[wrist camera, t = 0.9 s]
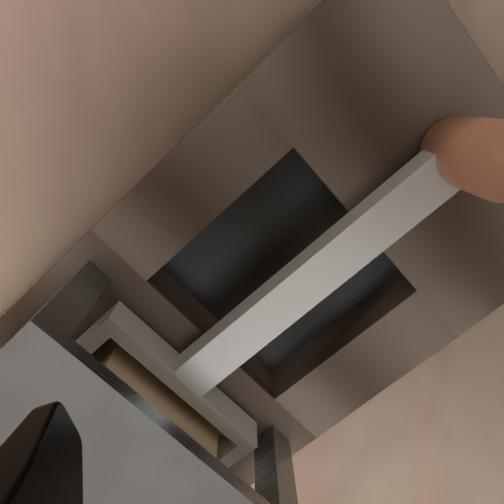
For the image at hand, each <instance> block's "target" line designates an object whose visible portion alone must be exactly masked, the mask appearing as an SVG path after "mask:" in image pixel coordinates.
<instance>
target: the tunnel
mask: <svg viewBox="0 0 504 504" xmlns="http://www.w3.org/2000/svg"><path fill="white" fill-rule="evenodd" d="M110 282H111V279H110V278H109V277H108V276H107V275H106V274H105V273H104V272H102V271H101V270H100V269H99V268H98V267H97V266H96V265H95V264H94V263H92V262H91V261H90V260H89V261H88V262H87V263H86V264H84V265H83V266H82V267H81V268H80V269H79V270H78V271H77V272H76V273H75V274H74V275H73V276H72V277H71V278H70V279H69V280H68V281H67V282H66V283H65V284H64V285H63V286H62V287H61V288H60V289H59V290H58V291H57V292H56V293H55V294H54V295H53V296H52V297H51V298H50V300H49V301H48V302H47V303H46V304H45V305H44V306H43V307H42V308H41V309H40V310H39V311H38V312H37V313H36V314H35V315H34V316H33V317H32V318H31V319H30V320H29V321H28V322H27V323H26V324H25V325H24V326H23V327H22V328H21V329H20V330H19V331H18V332H17V333H16V334H15V335H14V336H13V337H12V338H11V339H10V340H9V341H8V342H7V343H6V344H5V345H4V346H3V347H2V348H1V349H0V446H1V445H2V444H3V443H4V442H5V440H6V439H7V438H8V437H9V436H10V435H11V434H12V432H13V431H14V430H15V429H16V428H17V427H18V425H19V424H20V423H21V422H22V421H23V420H24V419H25V417H26V416H27V415H28V414H29V413H30V412H31V411H32V410H33V409H34V408H36V407H38V406H42V405H45V404H48V403H51V402H54V401H58V402H61V403H62V404H63V405H64V407H65V408H66V410H67V412H68V414H69V416H70V418H71V419H72V421H73V423H74V425H75V427H76V428H77V430H78V432H79V434H80V437H81V441H82V457H83V504H298V501H297V493H296V486H295V478H294V471H293V463H292V455H291V448H290V440H289V439H288V438H287V437H286V436H285V435H284V434H282V433H281V432H280V431H279V430H278V429H277V428H276V427H275V426H274V425H272V426H270V427H269V428H268V429H266V430H265V431H264V432H262V433H261V434H260V435H258V436H257V444H258V447H257V448H255V449H254V465H255V490H254V489H253V488H251V487H250V486H249V485H248V484H247V483H245V482H244V481H243V480H242V479H241V478H239V477H238V476H237V475H236V474H235V473H233V472H232V471H231V470H230V469H229V468H227V467H226V466H225V465H224V464H223V463H221V462H220V461H219V460H218V459H217V458H215V457H214V456H213V455H212V454H211V453H209V452H208V451H207V450H206V449H205V448H203V447H202V446H201V445H200V444H198V443H197V442H196V441H195V440H194V439H192V438H191V437H190V436H189V435H188V434H186V433H185V432H184V431H183V430H182V429H180V428H179V427H178V426H177V425H176V424H174V423H173V422H172V421H171V420H170V419H168V418H167V417H166V416H165V415H164V414H162V413H161V412H160V411H159V410H158V409H156V408H155V407H154V406H153V405H152V404H150V403H149V402H148V401H147V400H146V399H144V398H143V397H142V396H141V395H139V394H138V393H137V392H136V391H135V390H133V389H132V388H131V387H130V386H129V385H127V384H126V383H125V382H124V381H123V380H121V379H120V378H119V377H118V376H117V375H115V374H114V373H113V372H112V371H111V370H109V369H108V368H107V367H106V366H105V365H103V364H102V363H101V362H100V361H99V360H97V359H96V358H95V357H94V356H93V355H91V354H90V353H89V352H88V351H87V350H85V349H84V348H83V347H82V346H80V345H79V344H78V343H77V342H76V341H74V340H73V339H72V338H71V337H70V336H71V335H72V333H73V332H74V331H75V329H76V328H77V327H78V325H79V324H80V322H81V321H82V320H83V318H84V317H85V316H86V314H87V313H88V312H89V310H90V309H91V308H92V306H93V305H94V303H95V302H96V301H97V299H98V298H99V297H100V295H101V294H102V293H103V291H104V290H105V288H106V287H107V286H108V284H109V283H110Z"/></svg>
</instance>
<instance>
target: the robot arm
mask: <svg viewBox="0 0 504 504" xmlns="http://www.w3.org/2000/svg"><path fill="white" fill-rule="evenodd" d="M0 504H83V457H82V441H81V437H80V434H79V432H78V430H77V428H76V427H75V425H74V423H73V421H72V419H71V418H70V416H69V414H68V412H67V410H66V408H65V407H64V405H63V404H62V403H61V402H58V401H54V402H51V403H48V404H45V405H42V406H38V407H36V408H34V409H33V410H32V411H31V412H30V413H29V414H28V415H27V416H26V417H25V419H24V420H23V421H22V422H21V423H20V424H19V425H18V427H17V428H16V429H15V430H14V431H13V432H12V434H11V435H10V436H9V437H8V438H7V439H6V440H5V442H4V443H3V444H2V445H1V446H0Z"/></svg>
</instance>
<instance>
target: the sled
mask: <svg viewBox="0 0 504 504" xmlns="http://www.w3.org/2000/svg"><path fill="white" fill-rule="evenodd" d="M459 190H463V191H466V192H468V193H471V194H473V195H475V196H478V197H480V198H483V199H485V200H487V201H490V202H494V203H504V119H500V118H486V117H473V116H460V115H457V116H449V117H446V118H444V119H442V120H440V121H438V122H437V123H435V124H434V125H433V126H432V127H431V128H430V129H429V130H428V132H427V133H426V135H425V137H424V139H423V141H422V144H421V149H420V153H419V154H417V155H416V156H415V157H414V158H413V159H411V160H410V161H409V162H408V163H407V164H406V165H404V166H403V167H402V168H401V169H400V170H398V171H397V172H396V173H395V174H394V175H392V176H391V177H390V178H389V179H388V180H386V181H385V182H384V183H383V184H382V185H381V186H379V187H378V188H377V189H376V190H375V191H373V192H372V193H371V194H370V195H369V196H367V197H366V198H365V199H364V200H363V201H361V202H360V203H359V204H358V205H357V206H356V207H354V208H353V209H352V210H351V211H350V212H348V213H347V214H346V215H345V216H344V217H342V218H341V219H340V220H339V221H338V222H337V223H335V224H334V225H333V226H332V227H331V228H329V229H328V230H327V231H326V232H325V233H323V234H322V235H321V236H320V237H319V238H317V239H316V240H315V241H314V242H313V243H312V244H310V245H309V246H308V247H307V248H306V249H304V250H303V251H302V252H301V253H300V254H298V255H297V256H296V257H295V258H294V259H292V260H291V261H290V262H289V263H288V264H287V265H285V266H284V267H283V268H282V269H281V270H279V271H278V272H277V273H276V274H275V275H273V276H272V277H271V278H270V279H269V280H268V281H266V282H265V283H264V284H263V285H262V286H260V287H259V288H258V289H257V290H256V291H254V292H253V293H252V294H251V295H250V296H248V297H247V298H246V299H245V300H244V301H243V302H241V303H240V304H239V305H238V306H237V307H235V308H234V309H233V310H232V311H231V312H229V313H228V314H227V315H226V316H225V317H224V318H222V319H221V320H220V321H219V322H218V323H216V324H215V325H214V326H213V327H212V328H210V329H209V330H208V331H207V332H206V333H204V334H203V335H202V336H201V337H200V338H199V339H197V340H196V341H195V342H194V343H193V344H191V345H190V346H189V347H188V348H187V349H185V350H184V351H183V352H182V353H181V354H179V353H178V352H177V351H176V350H175V349H173V348H172V347H171V346H170V345H169V344H168V343H167V342H166V341H164V340H163V339H162V338H161V337H160V336H159V335H158V334H157V333H155V332H154V331H153V330H152V329H151V328H150V327H149V326H148V325H146V324H145V323H144V322H143V321H142V320H141V319H140V318H139V317H137V316H136V315H135V314H134V313H133V312H132V311H131V310H130V309H128V308H127V307H126V306H125V305H124V304H123V303H122V302H121V301H120V300H119V301H118V302H117V303H116V304H115V305H114V306H113V307H112V308H111V309H110V310H109V311H107V312H106V313H105V314H104V315H103V316H102V317H101V318H100V319H99V320H98V321H97V322H95V323H94V324H93V325H92V326H91V327H90V328H89V329H88V330H87V331H86V332H84V333H83V334H82V335H81V336H80V337H79V338H78V339H77V340H76V342H77V343H78V344H79V345H80V346H82V347H83V348H84V349H85V350H87V351H88V352H89V353H90V354H92V353H93V352H94V351H95V350H97V349H98V348H99V347H100V346H101V345H102V344H103V343H104V342H106V341H107V340H108V339H109V338H112V339H113V340H114V341H115V342H116V343H117V344H119V345H120V346H121V347H122V348H123V349H124V350H126V351H127V352H128V353H129V354H130V355H131V356H133V357H134V358H135V359H136V360H137V361H139V362H140V363H141V364H142V365H143V366H144V367H146V368H147V369H148V370H149V371H150V372H151V373H153V374H154V375H155V376H156V377H157V378H158V379H160V380H161V381H162V382H163V383H164V384H165V385H167V386H168V387H169V388H170V389H171V390H172V391H174V392H175V393H176V394H177V395H178V396H179V397H181V398H182V399H183V400H184V401H185V402H186V403H188V404H189V405H190V406H191V407H192V408H193V409H195V410H196V411H197V412H198V413H199V414H200V415H202V416H203V417H204V418H205V419H206V420H207V421H209V422H210V423H211V424H212V425H213V426H214V427H216V428H217V429H218V430H219V431H220V432H222V433H223V434H222V435H221V436H219V437H218V450H217V459H218V460H219V461H220V462H221V463H223V464H224V465H225V466H226V467H227V468H230V467H231V466H232V465H234V464H235V463H236V462H238V461H239V460H241V459H242V458H243V457H245V456H246V455H247V454H249V453H250V452H251V451H253V450H254V449H255V448H257V447H258V444H257V422H256V421H254V420H253V419H252V418H251V417H250V416H249V415H248V414H247V413H245V412H244V411H243V410H242V409H241V408H240V407H239V406H238V405H236V404H235V403H234V402H233V401H232V400H231V399H230V398H229V397H227V396H226V395H225V394H224V393H223V392H222V391H221V390H220V389H218V388H217V387H216V385H217V384H218V383H220V382H221V381H222V380H223V379H225V378H226V377H227V376H228V375H230V374H231V373H232V372H233V371H235V370H236V369H237V368H238V367H240V366H241V365H242V364H243V363H245V362H246V361H247V360H248V359H250V358H251V357H252V356H253V355H255V354H256V353H257V352H258V351H260V350H261V349H262V348H263V347H265V346H266V345H267V344H268V343H270V342H271V341H272V340H273V339H274V338H276V337H277V336H278V335H279V334H281V333H282V332H283V331H284V330H286V329H287V328H288V327H289V326H291V325H292V324H293V323H294V322H296V321H297V320H298V319H299V318H301V317H302V316H303V315H304V314H306V313H307V312H308V311H309V310H311V309H312V308H313V307H314V306H316V305H317V304H318V303H319V302H321V301H322V300H323V299H324V298H326V297H327V296H328V295H329V294H331V293H332V292H333V291H334V290H336V289H337V288H338V287H339V286H341V285H342V284H343V283H344V282H346V281H347V280H348V279H349V278H351V277H352V276H353V275H354V274H356V273H357V272H358V271H359V270H361V269H362V268H363V267H364V266H366V265H367V264H368V263H369V262H371V261H372V260H373V259H374V258H376V257H377V256H378V255H379V254H381V253H382V252H383V251H384V250H386V249H387V248H388V247H389V246H391V245H392V244H393V243H394V242H396V241H397V240H398V239H399V238H401V237H402V236H403V235H404V234H406V233H407V232H408V231H409V230H411V229H412V228H413V227H414V226H416V225H417V224H418V223H419V222H421V221H422V220H423V219H424V218H426V217H427V216H428V215H429V214H431V213H432V212H433V211H434V210H436V209H437V208H438V207H439V206H441V205H442V204H443V203H444V202H446V201H447V200H448V199H449V198H451V197H452V196H453V195H454V194H456V193H457V192H458V191H459Z"/></svg>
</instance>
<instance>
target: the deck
mask: <svg viewBox="0 0 504 504" xmlns="http://www.w3.org/2000/svg"><path fill="white" fill-rule="evenodd" d="M457 115H460V116H473V117H486V118H500V119H504V86H503V85H502V83H501V82H500V81H499V79H498V78H497V76H496V75H495V73H494V72H493V70H492V69H491V67H490V66H489V64H488V63H487V61H486V60H485V58H484V57H483V55H482V54H481V52H480V51H479V49H478V48H477V46H476V45H475V43H474V42H473V40H472V39H471V37H470V36H469V34H468V33H467V31H466V30H465V28H464V27H463V25H462V24H461V22H460V21H459V19H458V18H457V16H456V15H455V14H454V12H453V11H452V9H451V8H450V6H449V5H448V3H447V2H446V0H324V1H323V2H322V3H321V4H320V5H319V6H317V7H316V8H315V9H314V10H313V11H312V12H311V13H310V14H309V15H308V16H307V17H306V18H305V19H304V20H303V21H302V22H301V23H300V24H299V25H298V26H297V27H296V28H295V29H294V30H293V31H292V32H291V33H290V34H289V35H288V36H287V37H286V38H285V39H284V40H283V41H282V42H281V43H280V44H279V45H278V46H277V47H276V48H275V49H274V50H273V51H272V52H271V53H270V54H269V55H268V56H267V57H266V58H265V59H264V60H263V61H262V62H261V63H260V64H259V65H258V66H257V67H255V68H254V69H253V70H252V71H251V72H250V73H249V74H248V75H247V76H246V77H245V78H244V79H243V80H242V81H241V82H240V83H239V84H238V85H237V86H236V87H235V88H234V89H233V90H232V91H231V92H230V93H229V94H228V95H227V96H226V97H225V98H224V99H223V100H222V101H221V102H220V103H219V104H218V105H217V106H216V107H215V108H214V109H213V110H212V111H211V112H210V113H209V114H208V115H207V116H206V117H205V118H204V119H203V120H202V121H201V122H200V123H199V124H198V125H197V126H196V127H194V128H193V129H192V130H191V131H190V132H189V133H188V134H187V135H186V136H185V137H184V138H183V139H182V140H181V141H180V142H179V143H178V144H177V145H176V146H175V147H174V148H173V149H172V150H171V151H170V152H169V153H168V154H167V155H166V156H165V157H164V158H163V159H162V160H161V161H160V162H159V163H158V164H157V165H156V166H155V167H154V168H153V169H152V170H151V171H150V172H149V173H148V174H147V175H146V176H145V177H144V178H143V179H142V180H141V181H140V182H139V183H138V184H137V185H136V186H135V187H134V188H132V189H131V190H130V191H129V192H128V193H127V194H126V195H125V196H124V197H123V198H122V199H121V200H120V201H119V202H118V203H117V204H116V205H115V206H114V207H113V208H112V209H111V210H110V211H109V212H108V213H107V214H106V215H105V216H104V217H103V218H102V219H101V220H100V221H99V222H98V223H97V224H96V225H95V226H94V227H93V228H92V229H91V230H90V231H89V232H88V233H87V234H86V235H85V236H84V237H83V238H82V239H81V240H80V241H79V242H78V243H77V244H76V245H75V246H74V247H73V248H71V249H70V250H69V251H68V252H67V253H66V254H65V255H64V256H63V257H62V258H61V259H60V260H59V261H58V262H57V263H56V264H55V265H54V266H53V267H52V268H51V269H50V270H49V271H48V272H47V273H46V274H45V275H44V276H43V277H42V278H41V279H40V280H39V281H38V282H37V283H36V284H35V285H34V286H33V287H32V288H31V289H30V290H29V291H28V292H27V293H26V294H25V295H24V296H23V297H22V298H21V299H20V300H19V301H18V302H17V303H16V304H15V305H14V306H13V307H12V308H11V309H9V310H8V311H7V312H6V313H5V314H4V315H3V316H2V317H1V318H0V349H1V348H2V347H3V346H4V345H5V344H6V343H7V342H8V341H9V340H10V339H11V338H12V337H13V336H14V335H15V334H16V333H17V332H18V331H19V330H20V329H21V328H22V327H23V326H24V325H25V324H26V323H27V322H28V321H29V320H30V319H31V318H32V317H33V316H34V315H35V314H36V313H37V312H38V311H39V310H40V309H41V308H42V307H43V306H44V305H45V304H46V303H47V302H48V301H49V300H50V298H51V297H52V296H53V295H54V294H55V293H56V292H57V291H58V290H59V289H60V288H61V287H62V286H63V285H64V284H65V283H66V282H67V281H68V280H69V279H70V278H71V277H72V276H73V275H74V274H75V273H76V272H77V271H78V270H79V269H80V268H81V267H82V266H83V265H84V264H86V263H87V262H88V261H89V260H90V261H91V262H92V263H94V264H95V265H96V266H97V267H98V268H99V269H100V270H101V271H102V272H104V273H105V274H106V275H107V276H108V277H109V278H110V279H111V282H110V283H109V284H108V286H107V287H106V288H105V290H104V291H103V293H102V294H101V295H100V297H99V298H98V299H97V301H96V302H95V303H94V305H93V306H92V308H91V309H90V310H89V312H88V313H87V314H86V316H85V317H84V318H83V320H82V321H81V322H80V324H79V325H78V327H77V328H76V329H75V331H74V332H73V333H72V335H71V336H70V337H71V338H72V339H73V340H74V341H76V340H77V339H78V338H79V337H80V336H81V335H82V334H83V333H84V332H86V331H87V330H88V329H89V328H90V327H91V326H92V325H93V324H94V323H95V322H97V321H98V320H99V319H100V318H101V317H102V316H103V315H104V314H105V313H106V312H107V311H109V310H110V309H111V308H112V307H113V306H114V305H115V304H116V303H117V302H118V301H119V300H120V301H121V302H122V303H123V304H124V305H125V306H126V307H127V308H128V309H130V310H131V311H132V312H133V313H134V314H135V315H136V316H137V317H139V318H140V319H141V320H142V321H143V322H144V323H145V324H146V325H148V326H149V327H150V328H151V329H152V330H153V331H154V332H155V333H157V334H158V335H159V336H160V337H161V338H162V339H163V340H164V341H166V342H167V343H168V344H169V345H170V346H171V347H172V348H173V349H175V350H176V351H177V352H178V353H179V354H181V353H182V352H183V351H184V350H185V349H187V348H188V347H189V346H190V345H191V344H193V343H194V342H195V341H196V340H197V339H199V338H200V337H201V336H202V335H203V334H204V333H206V332H207V331H208V330H209V329H210V328H212V327H213V326H214V325H215V324H216V323H218V322H219V321H220V320H221V319H222V318H224V317H225V316H226V315H227V314H228V313H229V312H231V311H232V310H233V309H234V308H235V307H237V306H238V305H239V304H240V303H241V302H243V301H244V300H245V299H246V298H247V297H248V296H250V295H251V294H252V293H253V292H254V291H256V290H257V289H258V288H259V287H260V286H262V285H263V284H264V283H265V282H266V281H268V280H269V279H270V278H271V277H272V276H273V275H275V274H276V273H277V272H278V271H279V270H281V269H282V268H283V267H284V266H285V265H287V264H288V263H289V262H290V261H291V260H292V259H294V258H295V257H296V256H297V255H298V254H300V253H301V252H302V251H303V250H304V249H306V248H307V247H308V246H309V245H310V244H312V243H313V242H314V241H315V240H316V239H317V238H319V237H320V236H321V235H322V234H323V233H325V232H326V231H327V230H328V229H329V228H331V227H332V226H333V225H334V224H335V223H337V222H338V221H339V220H340V219H341V218H342V217H344V216H345V215H346V214H347V213H348V212H350V211H351V210H352V209H353V208H354V207H356V206H357V205H358V204H359V203H360V202H361V201H363V200H364V199H365V198H366V197H367V196H369V195H370V194H371V193H372V192H373V191H375V190H376V189H377V188H378V187H379V186H381V185H382V184H383V183H384V182H385V181H386V180H388V179H389V178H390V177H391V176H392V175H394V174H395V173H396V172H397V171H398V170H400V169H401V168H402V167H403V166H404V165H406V164H407V163H408V162H409V161H410V160H411V159H413V158H414V157H415V156H416V155H417V154H419V153H420V149H421V144H422V141H423V139H424V137H425V135H426V133H427V132H428V130H429V129H430V128H431V127H432V126H433V125H434V124H435V123H437V122H438V121H440V120H442V119H444V118H446V117H449V116H457ZM502 304H504V203H494V202H490V201H487V200H485V199H483V198H480V197H478V196H475V195H473V194H471V193H468V192H466V191H463V190H459V191H458V192H457V193H456V194H454V195H453V196H452V197H451V198H449V199H448V200H447V201H446V202H444V203H443V204H442V205H441V206H439V207H438V208H437V209H436V210H434V211H433V212H432V213H431V214H429V215H428V216H427V217H426V218H424V219H423V220H422V221H421V222H419V223H418V224H417V225H416V226H414V227H413V228H412V229H411V230H409V231H408V232H407V233H406V234H404V235H403V236H402V237H401V238H399V239H398V240H397V241H396V242H394V243H393V244H392V245H391V246H389V247H388V248H387V249H386V250H384V251H383V252H382V253H381V254H379V255H378V256H377V257H376V258H374V259H373V260H372V261H371V262H369V263H368V264H367V265H366V266H364V267H363V268H362V269H361V270H359V271H358V272H357V273H356V274H354V275H353V276H352V277H351V278H349V279H348V280H347V281H346V282H344V283H343V284H342V285H341V286H339V287H338V288H337V289H336V290H334V291H333V292H332V293H331V294H329V295H328V296H327V297H326V298H324V299H323V300H322V301H321V302H319V303H318V304H317V305H316V306H314V307H313V308H312V309H311V310H309V311H308V312H307V313H306V314H304V315H303V316H302V317H301V318H299V319H298V320H297V321H296V322H294V323H293V324H292V325H291V326H289V327H288V328H287V329H286V330H284V331H283V332H282V333H281V334H279V335H278V336H277V337H276V338H274V339H273V340H272V341H271V342H270V343H268V344H267V345H266V346H265V347H263V348H262V349H261V350H260V351H258V352H257V353H256V354H255V355H253V356H252V357H251V358H250V359H248V360H247V361H246V362H245V363H243V364H242V365H241V366H240V367H238V368H237V369H236V370H235V371H233V372H232V373H231V374H230V375H228V376H227V377H226V378H225V379H223V380H222V381H221V382H220V383H218V384H217V385H216V387H217V388H218V389H220V390H221V391H222V392H223V393H224V394H225V395H226V396H227V397H229V398H230V399H231V400H232V401H233V402H234V403H235V404H236V405H238V406H239V407H240V408H241V409H242V410H243V411H244V412H245V413H247V414H248V415H249V416H250V417H251V418H252V419H253V420H254V421H256V422H257V436H258V435H260V434H261V433H262V432H264V431H265V430H266V429H268V428H269V427H270V426H272V425H274V426H275V427H276V428H277V429H278V430H279V431H280V432H281V433H282V434H284V435H285V436H286V437H287V438H288V439H289V440H290V448H291V455H293V454H295V453H296V452H298V451H299V450H300V449H302V448H303V447H304V446H306V445H307V444H309V443H310V442H311V441H313V440H314V439H316V438H317V437H318V436H320V435H321V434H323V433H324V432H325V431H327V430H328V429H330V428H331V427H332V426H334V425H335V424H337V423H338V422H339V421H341V420H342V419H343V418H345V417H346V416H348V415H349V414H350V413H352V412H353V411H355V410H356V409H357V408H359V407H360V406H362V405H363V404H364V403H366V402H367V401H369V400H370V399H371V398H373V397H374V396H376V395H377V394H378V393H380V392H381V391H382V390H384V389H385V388H387V387H388V386H389V385H391V384H392V383H394V382H395V381H396V380H398V379H399V378H401V377H402V376H403V375H405V374H406V373H408V372H409V371H410V370H412V369H413V368H415V367H416V366H417V365H419V364H420V363H421V362H423V361H424V360H426V359H427V358H428V357H430V356H431V355H433V354H434V353H435V352H437V351H438V350H440V349H441V348H442V347H444V346H445V345H447V344H448V343H449V342H451V341H452V340H453V339H455V338H456V337H458V336H459V335H460V334H462V333H463V332H465V331H466V330H467V329H469V328H470V327H472V326H473V325H474V324H476V323H477V322H479V321H480V320H481V319H483V318H484V317H486V316H487V315H488V314H490V313H491V312H492V311H494V310H495V309H497V308H498V307H499V306H501V305H502ZM113 342H114V340H113V339H112V338H109V339H108V340H107V341H106V342H104V343H103V344H102V345H101V346H100V347H99V348H98V349H97V350H95V351H94V352H93V353H92V354H91V355H93V356H94V357H95V358H96V357H97V356H98V355H100V354H101V353H102V352H103V351H104V350H105V349H106V348H107V347H109V346H110V345H111V344H112V343H113ZM222 434H223V433H222V432H220V431H219V436H221V435H222ZM229 469H230V470H231V471H232V472H233V473H235V474H236V475H237V476H238V477H239V478H241V479H242V480H243V481H244V482H245V483H247V484H248V485H249V486H250V485H252V484H253V483H254V482H255V465H254V450H253V451H251V452H250V453H249V454H247V455H246V456H245V457H243V458H242V459H241V460H239V461H238V462H236V463H235V464H234V465H232V466H231V467H230V468H229Z"/></svg>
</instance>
